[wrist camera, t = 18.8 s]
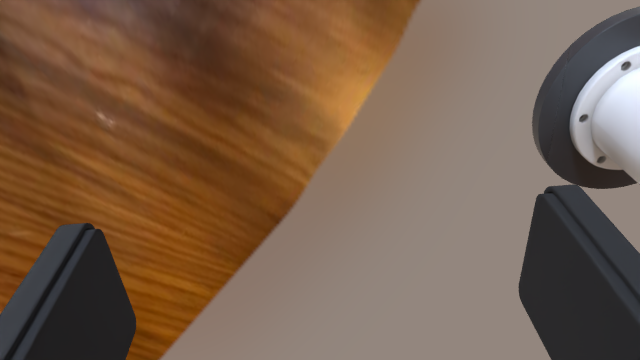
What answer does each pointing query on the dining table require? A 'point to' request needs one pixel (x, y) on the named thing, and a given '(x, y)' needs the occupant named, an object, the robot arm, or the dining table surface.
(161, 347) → the dining table surface
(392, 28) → the dining table surface
